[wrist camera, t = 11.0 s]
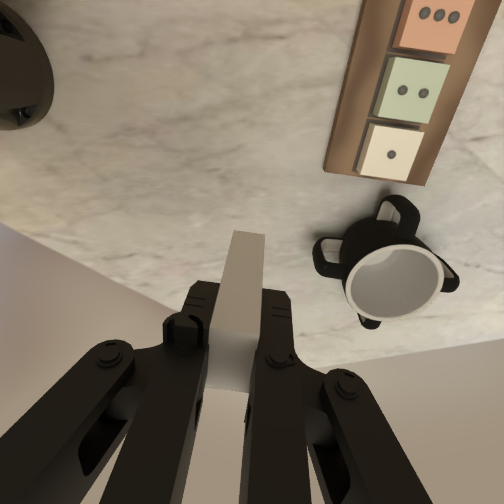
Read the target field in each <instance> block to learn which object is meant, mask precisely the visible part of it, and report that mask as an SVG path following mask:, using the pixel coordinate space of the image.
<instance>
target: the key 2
mask: <svg viewBox="0 0 504 504" xmlns="http://www.w3.org/2000/svg"><path fill="white" fill-rule="evenodd" d="M449 67H450V65H447V64H440V63H433V62H427V61H420V60H413V59H406V58H399V57H392V58H389V59H388V63H387V66H386V69H385V73H384V76H383V80H382V83H381V86H380V90H379V93H378V97H377V100H376V103H375V107H374V110H373V115H376V116H378V117H385V118H392V119H399V120H406V121H413V122H420V123H427V124H428V122H429V120H430V117H431V114H432V112H433V109H434V107H435V104H436V101H437V99H438V96H439V94H440V91H441V88H442V86H443V83H444V80H445V78H446V75H447V73H448V70H449Z"/></svg>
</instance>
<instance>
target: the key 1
mask: <svg viewBox="0 0 504 504" xmlns="http://www.w3.org/2000/svg"><path fill="white" fill-rule="evenodd" d="M424 133H425V132H422V131H420V130H417V129H411V128H404V127H397V126H390V125H383V124H376V123H370V124H369V127H368V130H367V134H366V137H365V141H364V144H363V147H362V151H361V154H360V158H359V161H358V164H357V168H356V170H357V171H358V173H359V174H360V175H366V176H374V177H381V178H388V179H395V180H402V181H406V180H407V177H408V175H409V172H410V169H411V167H412V164H413V162H414V159H415V156H416V154H417V151H418V148H419V146H420V143H421V141H422V138H423V135H424Z"/></svg>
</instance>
